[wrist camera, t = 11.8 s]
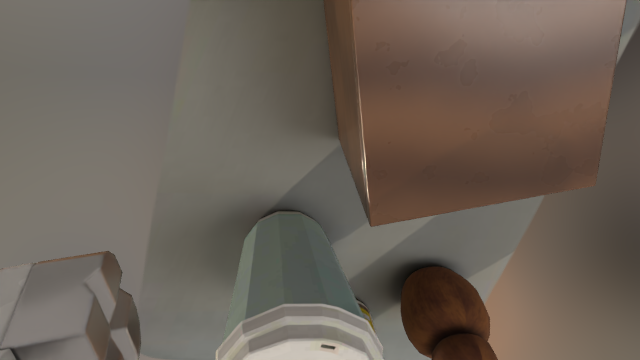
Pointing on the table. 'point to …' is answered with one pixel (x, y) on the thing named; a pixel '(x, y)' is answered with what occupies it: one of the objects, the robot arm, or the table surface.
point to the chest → (345, 88)
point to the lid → (480, 99)
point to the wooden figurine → (445, 316)
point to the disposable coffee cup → (294, 298)
